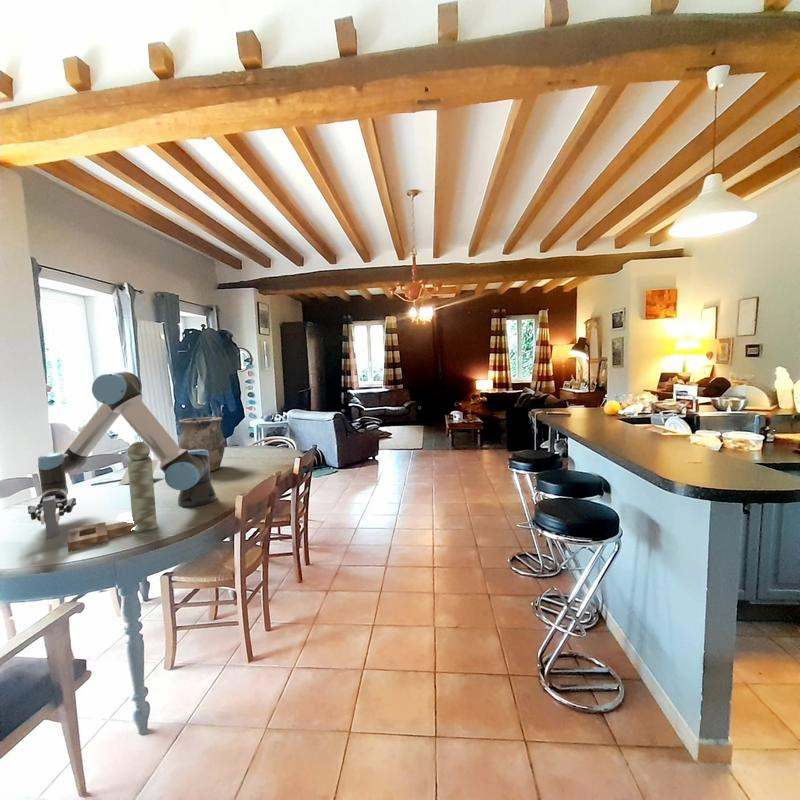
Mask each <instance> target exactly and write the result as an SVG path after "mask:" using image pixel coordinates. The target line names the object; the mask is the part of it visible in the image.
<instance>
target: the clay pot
mask: <svg viewBox="0 0 800 800" xmlns="http://www.w3.org/2000/svg"><path fill="white" fill-rule="evenodd" d="M222 420H223V418H222V417H217V416H205V417H191V418H183V419H180V420H179V421H178V423H179V425H180V426H181V428H182V431H181V434H180V438H179V440H178V441H179V443H178V446H179V447H180V448H181V449H186V450H200V449H205V450H208V452H209V464H210V473H211V472H214V471H217V470H219V469H220V468H221V465H222V461H223V458H224V453H225V447H226V445H225V442H226V438H225V437H224V435H223V431H222V430H221V427H220V424H221V422H222Z"/></svg>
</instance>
